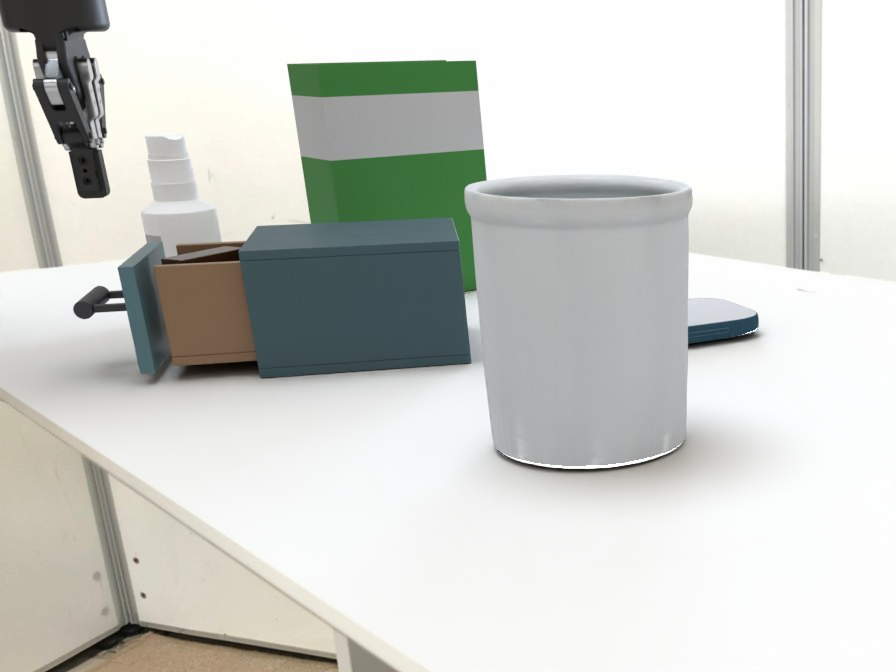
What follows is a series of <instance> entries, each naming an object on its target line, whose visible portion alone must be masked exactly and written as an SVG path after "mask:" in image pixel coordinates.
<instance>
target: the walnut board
mask: <svg viewBox="0 0 896 672" xmlns="http://www.w3.org/2000/svg"><path fill="white" fill-rule="evenodd" d="M240 248H241V247H230V246H223V247H218V248H213V249H208V250H202V251H197V252H192V253H187V254H182V255H177V256H172V257H166V258H162V259H161V262H162V265H168V264H188V263H208V262H228V261H240V259H239V253H238V251H239V250H240Z"/></svg>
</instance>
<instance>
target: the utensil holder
mask: <svg viewBox="0 0 896 672" xmlns="http://www.w3.org/2000/svg"><path fill="white" fill-rule="evenodd" d="M464 197H465V206H466V209H467V211H468V213H469V215H470V216H471V225H472V238H473V251H474V263H475V276H476V288H477V289H476V297H477V299H476V300H477V307H478V308H477V309H478V318H479V319H478V320H479V330H480V331H479V333H480V338H481V339H480V341H481V353H482V362H483V372H484V381H485V390H486V396H487V407H488V413H489V424H490V431H491V438H492V443H493V446H494V448H495V447H496V448H495V450H496V451H497V450H499V451H500V452H502V453H504V454H506V455H508V456H511V457H514V458H517V459H521V460H526V461H530V462H534V463H541V464H550V465H562V466H586V465H608V464H616V463H625V462H629V461H634V460H639V459H644V458H647V457H652V456H655V455H658V454H661V453H665V452H667V451H670V450H672V449H673V448H676V447H677V446H678V445H680V444H681V443H682V442H683V441H684V439H685V440H686V436H687V410H688V409H687V407H688V372H689V371H688V370H689V344H688V299H689V260H690V259H689V256H690V255H689V254H690V253H689V249H690V248H689V247H690V245H689V244H690V240H689V238H690V235H689V234H690V232H689V231H690V230H689V229H690V228H689V215H690V212H691V210H692V208H693V202H694V201H693V188H692V187H691V185H689V184H687V183H685V182H682V181H679V180H673V179H665V178H661V177H660V178H658V177H651V176H641V175H628V174H627V175H626V174H625V175H624V174H557V175H556V174H547V175H530V176H515V177H505V178H497V179H496V178H495V179H487V181H481V182H477V183H473V184H469V185H468V186H466V187H465V190H464ZM684 442H685V441H684ZM684 442H683V443H684ZM500 452H499V453H500Z"/></svg>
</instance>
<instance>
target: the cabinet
mask: <svg viewBox="0 0 896 672" xmlns="http://www.w3.org/2000/svg"><path fill="white" fill-rule="evenodd" d="M245 241H246V242H245V243H244V244H243V246H242V247H241V248H240V250H239V251H238V253H239V259H240V265H241V271H242V276H243V282H244V288H245V294H246V299H247V305H248V311H249V317H250V322H251V328H252V334H253V340H254V346H255V351H256V357H257V361H256V362H257V368H258V373H259V378H260V379H267V378H279V377H280V378H281V377H294V376H295V377H296V376H309V375H311V376H312V375H323V374H336V373H338V374H339V373H348V372H349V373H351V372H353V373H354V372H365V371H379V370H393V369H394V370H395V369H408V368H409V369H410V368H421V367H422V368H423V367H436V366H437V367H438V366H449V365H463V364H471V363H472V356H471V355H472V354H471V344H470V336H469V325H468V315H467V314H468V313H467V305H466V297H465V291H464V285H463V275H462V265H461V255H460V245H459V239H458V236H457V233H456V229H455V226H454V223H453V220H452V218H451V217H450V218H427V219H404V220H382V221H359V222H336V223H313V224H311V223H291V224H270V225H269V224H268V225H267V224H266V225H256V227H255V228H254V229H253V231H252V232H251V233H250V235H249V236H248V238H247V239H246V240H245Z"/></svg>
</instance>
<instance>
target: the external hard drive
mask: <svg viewBox="0 0 896 672" xmlns="http://www.w3.org/2000/svg"><path fill="white" fill-rule="evenodd" d="M759 322H760V321H759V314H758V312H757V311H756V310H754V309H751V308H750V307H746V306H743V305H740V304H738V303H734V302H732V301H729V300H725V299H721V298H716V297H715V298H714V297H692V298H688V345H689V344H694V343H703V342H709V341H716V340H723V339H731V338H736V337H735V336H738V335H742V334H745V333H747V332H750V331H753V330H755V329H756V328H757V327H758V328H759V324H760V323H759ZM730 337H731V338H730ZM738 337H739V336H738Z"/></svg>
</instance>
